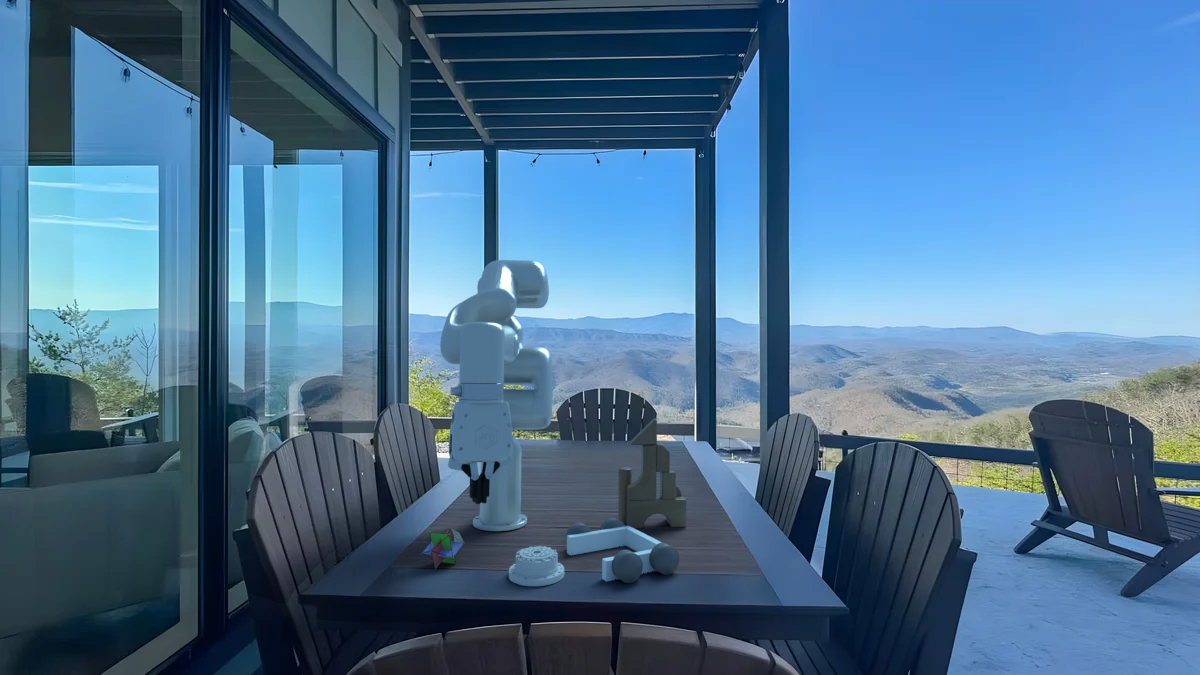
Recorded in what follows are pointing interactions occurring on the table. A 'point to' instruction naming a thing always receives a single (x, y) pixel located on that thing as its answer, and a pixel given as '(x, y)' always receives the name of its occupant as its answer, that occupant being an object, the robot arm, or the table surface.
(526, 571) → the mechanical component
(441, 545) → the geometric puzzle
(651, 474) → the wooden toy
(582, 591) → the table surface
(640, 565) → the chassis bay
